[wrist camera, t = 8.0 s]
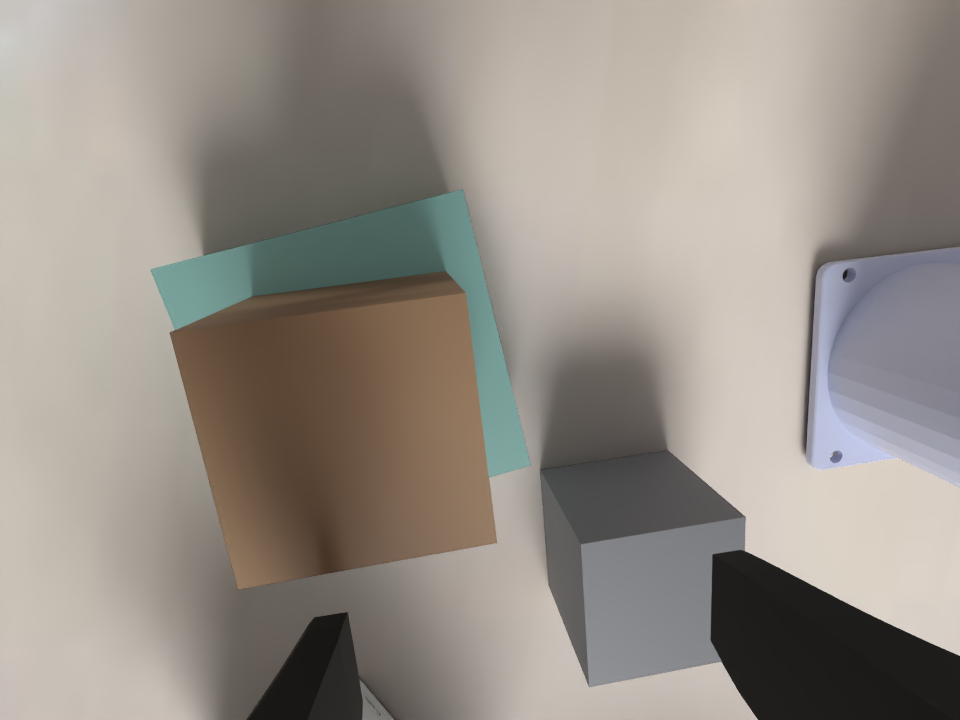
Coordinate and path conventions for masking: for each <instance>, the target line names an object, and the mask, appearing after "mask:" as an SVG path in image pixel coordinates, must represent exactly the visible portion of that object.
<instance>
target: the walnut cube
mask: <svg viewBox="0 0 960 720" xmlns="http://www.w3.org/2000/svg"><path fill="white" fill-rule="evenodd" d="M170 336H171V339H172V343H173V347H174V351H175V355H176V358H177V362H178V366H179V370H180V373H181V377H182V381H183V385H184V388H185V392H186V396H187V400H188V403H189V407H190V411H191V415H192V419H193V422H194V426H195V430H196V434H197V437H198V441H199V445H200V449H201V452H202V456H203V460H204V464H205V467H206V471H207V475H208V479H209V483H210V486H211V490H212V494H213V498H214V501H215V505H216V509H217V513H218V516H219V520H220V524H221V528H222V531H223V535H224V539H225V543H226V547H227V550H228V554H229V558H230V562H231V565H232V569H233V573H234V577H235V580H236V584H237V588H238V590H239V589H244V588H250V587H255V586H261V585H266V584H272V583H277V582H283V581H288V580H294V579H299V578H305V577H311V576H316V575H322V574H327V573H333V572H338V571H344V570H349V569H355V568H360V567H366V566H371V565H377V564H383V563H388V562H394V561H399V560H405V559H410V558H416V557H421V556H427V555H432V554H438V553H443V552H449V551H454V550H460V549H466V548H471V547H477V546H482V545H488V544H493V543H497V539H496V531H495V523H494V515H493V507H492V499H491V491H490V483H489V475H488V467H487V459H486V451H485V443H484V435H483V427H482V419H481V410H480V402H479V394H478V386H477V378H476V370H475V362H474V354H473V346H472V338H471V330H470V322H469V314H468V306H467V298H466V292H465V291H464V290H463V289H462V288H461V287H460V286H459V285H458V284H457V283H456V281H455V280H454V279H453V278H452V277H451V276H450V275H449V274H448V273H447V272H446V271H444V272H436V273H428V274H421V275H413V276H405V277H397V278H390V279H382V280H374V281H367V282H359V283H351V284H344V285H336V286H328V287H321V288H313V289H305V290H297V291H290V292H282V293H274V294H267V295H259V296H252V297H250V298H247V299H245V300H243V301H240V302H238V303H236V304H234V305H231V306H229V307H227V308H225V309H222V310H220V311H218V312H215V313H213V314H211V315H209V316H206V317H204V318H202V319H200V320H197V321H195V322H193V323H190V324H188V325H186V326H184V327H181V328H179V329H177V330H175V331H172V332H170Z"/></svg>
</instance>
